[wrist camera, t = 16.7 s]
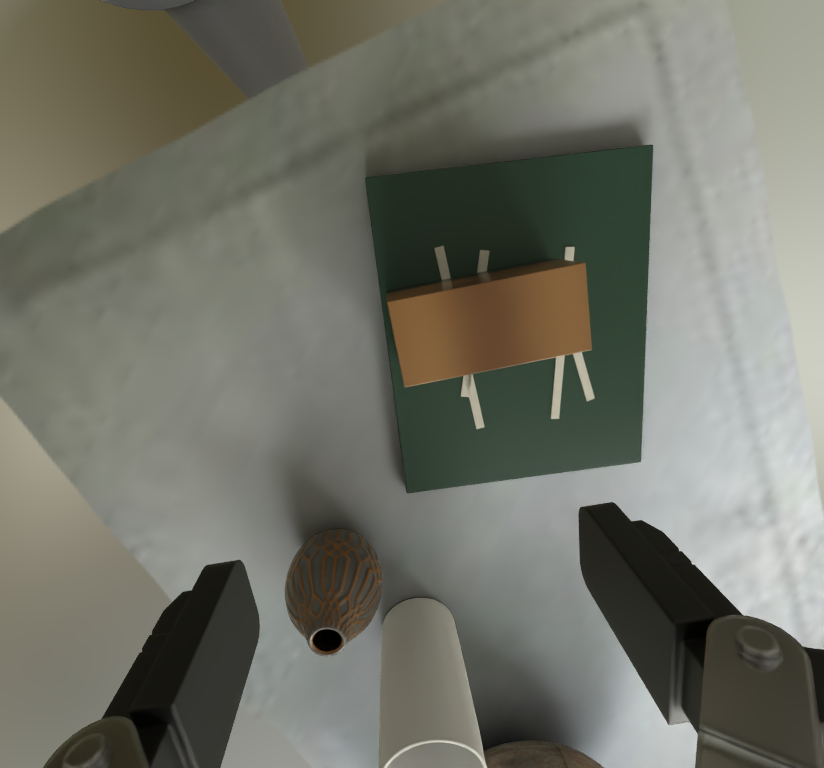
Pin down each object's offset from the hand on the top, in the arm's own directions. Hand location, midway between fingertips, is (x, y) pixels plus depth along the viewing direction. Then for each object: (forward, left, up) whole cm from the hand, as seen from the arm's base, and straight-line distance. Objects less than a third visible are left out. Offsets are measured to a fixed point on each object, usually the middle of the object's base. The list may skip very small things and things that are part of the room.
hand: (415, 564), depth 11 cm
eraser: (-2, +6, -22) cm, 23 cm away
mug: (+26, 0, -23) cm, 35 cm away
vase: (+16, -6, -23) cm, 29 cm away
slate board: (0, +9, -23) cm, 25 cm away
